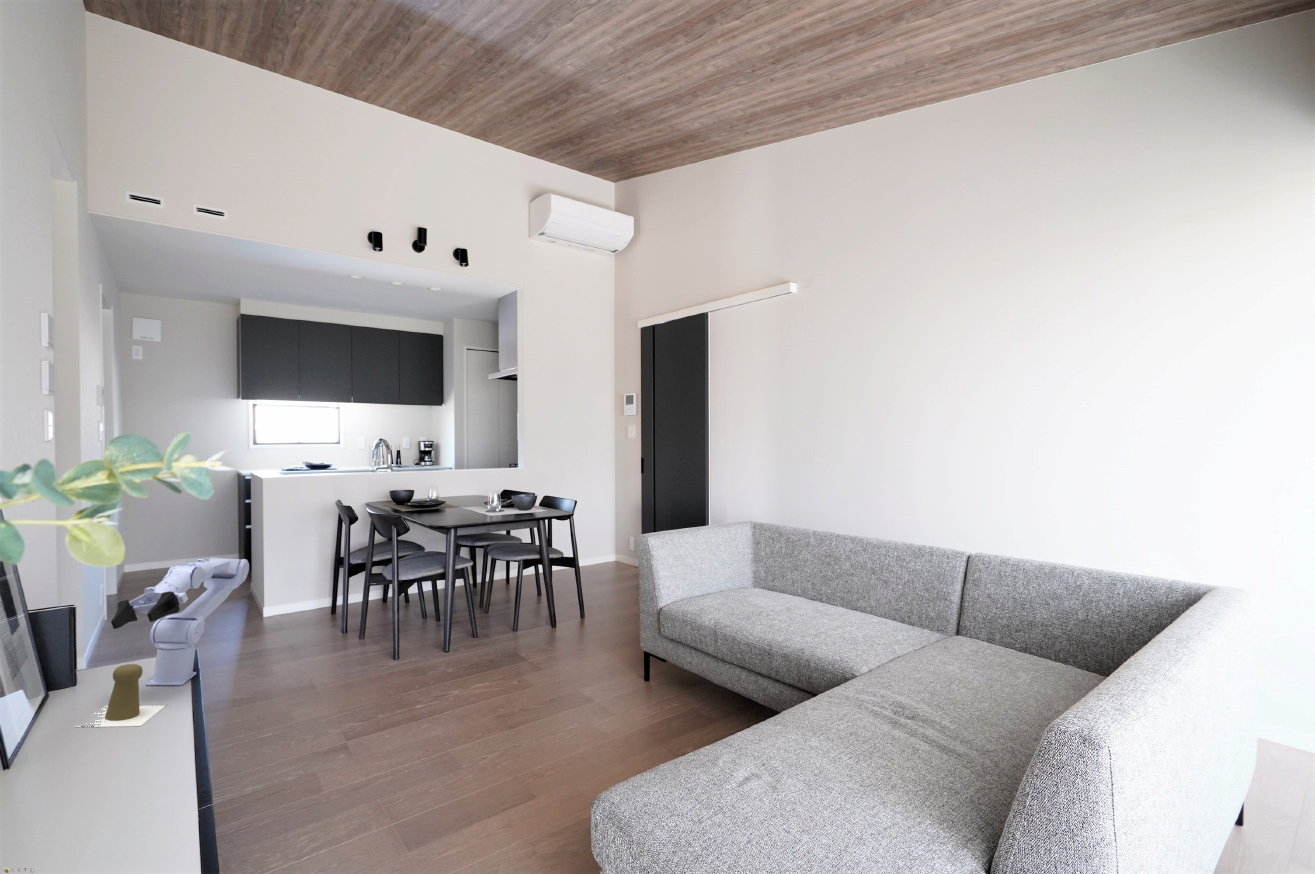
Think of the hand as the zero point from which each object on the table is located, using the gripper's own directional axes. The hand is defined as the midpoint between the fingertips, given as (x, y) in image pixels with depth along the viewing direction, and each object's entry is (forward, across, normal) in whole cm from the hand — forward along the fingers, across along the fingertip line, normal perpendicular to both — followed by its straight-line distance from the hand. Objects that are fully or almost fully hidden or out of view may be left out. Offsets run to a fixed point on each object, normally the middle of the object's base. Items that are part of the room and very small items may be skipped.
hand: (132, 621), depth 150 cm
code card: (+8, -3, +18) cm, 20 cm away
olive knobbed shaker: (+8, -3, +18) cm, 20 cm away
